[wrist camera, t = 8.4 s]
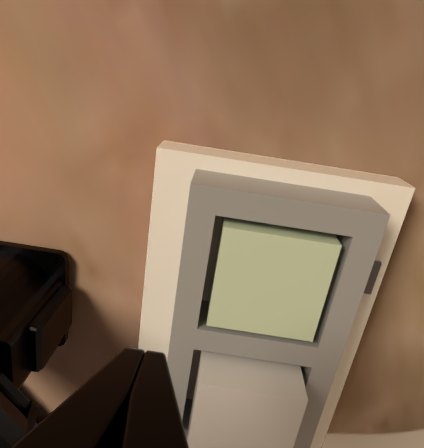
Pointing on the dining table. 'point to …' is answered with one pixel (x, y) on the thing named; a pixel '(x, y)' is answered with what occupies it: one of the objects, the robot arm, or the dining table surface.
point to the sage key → (271, 278)
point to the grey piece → (271, 214)
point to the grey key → (246, 403)
